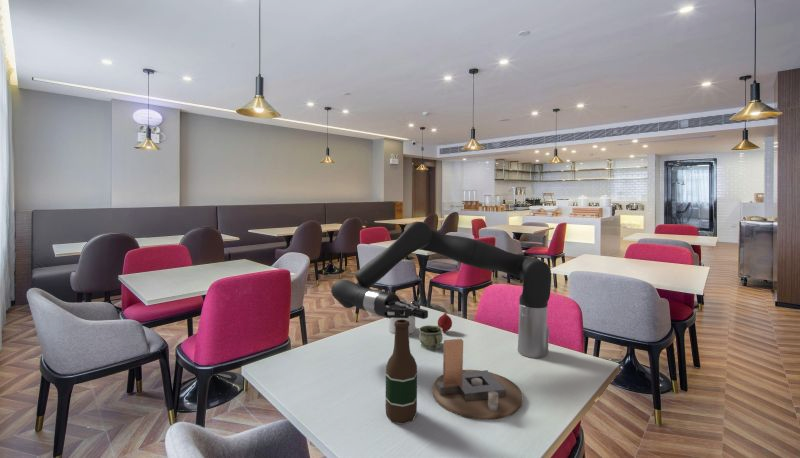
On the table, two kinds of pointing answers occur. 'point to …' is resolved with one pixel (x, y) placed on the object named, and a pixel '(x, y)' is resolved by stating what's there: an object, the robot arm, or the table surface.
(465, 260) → the robot arm
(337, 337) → the table surface
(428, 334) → the vessel
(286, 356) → the table surface
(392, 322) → the toilet tissue
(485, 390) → the handled square nut
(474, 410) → the post base
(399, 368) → the beer bottle
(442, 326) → the red oval fruit
